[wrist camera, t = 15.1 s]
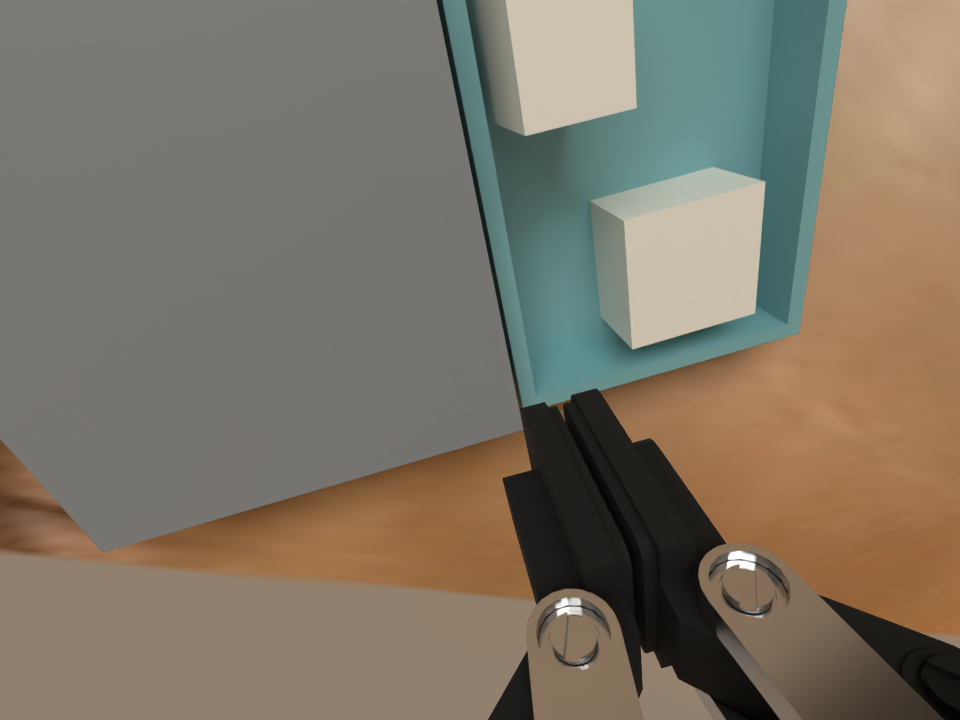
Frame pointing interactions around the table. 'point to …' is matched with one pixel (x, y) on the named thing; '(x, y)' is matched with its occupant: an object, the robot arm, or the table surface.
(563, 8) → the beige block
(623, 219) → the beige block
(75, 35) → the plate
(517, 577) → the table surface
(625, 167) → the box
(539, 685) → the robot arm
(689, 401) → the table surface
